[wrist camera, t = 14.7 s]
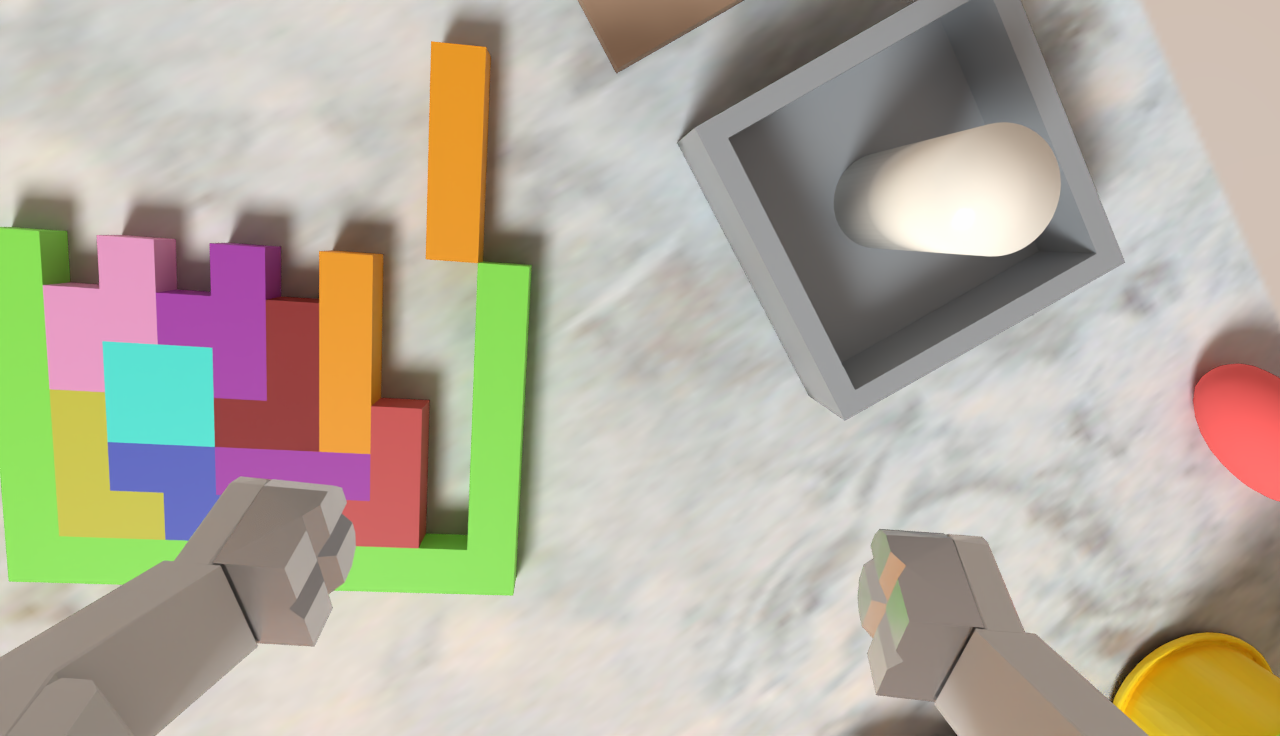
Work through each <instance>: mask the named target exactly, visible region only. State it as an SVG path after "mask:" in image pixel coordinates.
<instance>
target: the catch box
mask: <svg viewBox="0 0 1280 736" xmlns="http://www.w3.org/2000/svg"><path fill="white" fill-rule="evenodd" d="M1001 122H1008V123H1015V124H1019V125H1023V126H1025V127H1027V128H1030V129H1031V130H1033V131H1034V132H1036V133H1037V134H1039V135H1040V136H1041V137H1042V138H1043V139H1044V140H1045V141H1046V142H1047V143H1048V145H1049V146H1050V148H1051V149H1052V151H1053V153H1054V155H1055V157H1056V159H1057V163H1058V166H1059V170H1060V178H1061V189H1060V196H1059V201H1058V205H1057V208H1056V211H1055V213H1054V215H1053V217H1052V219H1051V221H1050V222H1049V224H1048V226H1047V227H1046V228H1045V230H1044V231H1043V232H1042V233H1041V234H1040V235H1039V236H1038V237H1037V238H1036V239H1035V240H1034V241H1033V242H1032V243H1030V244H1029V245H1027V246H1026V247H1024V248H1023V249H1021V250H1018V251H1016V252H1014V253H1011V254H1008V255H1003V256H976V255H962V254H947V253H933V252H918V251H904V250H890V249H875V248H867V247H863V246H861V245H858V244H856V243H855V242H853V241H852V240H850V239H849V238H848V237H847V236H846V235H845V234H844V233H843V231H842V230H841V228H840V227H839V225H838V223H837V220H836V217H835V213H834V194H835V190H836V186H837V184H838V181H839V180H840V178H841V176H842V175H843V173H844V172H845V170H846V169H847V168H848V167H849V166H850V165H851V164H853V163H854V162H855V161H857V160H858V159H860V158H862V157H864V156H867V155H870V154H873V153H877V152H881V151H885V150H889V149H893V148H897V147H901V146H905V145H909V144H913V143H917V142H921V141H924V140H928V139H932V138H936V137H940V136H944V135H948V134H952V133H956V132H960V131H964V130H968V129H972V128H976V127H980V126H984V125H988V124H993V123H1001ZM677 143H678V145H679V147H680V149H681V151H682V153H683V155H684V157H685V159H686V161H687V163H688V164H689V166H690V168H691V170H692V172H693V174H694V176H695V178H696V180H697V182H698V184H699V186H700V187H701V189H702V191H703V193H704V195H705V197H706V199H707V201H708V203H709V205H710V207H711V209H712V211H713V212H714V214H715V216H716V218H717V220H718V222H719V224H720V226H721V228H722V230H723V232H724V234H725V236H726V237H727V239H728V241H729V243H730V245H731V247H732V249H733V251H734V253H735V255H736V257H737V259H738V261H739V262H740V264H741V266H742V268H743V270H744V272H745V274H746V276H747V278H748V280H749V282H750V284H751V286H752V287H753V289H754V291H755V293H756V295H757V297H758V299H759V301H760V303H761V305H762V307H763V309H764V311H765V312H766V314H767V316H768V318H769V320H770V322H771V324H772V326H773V328H774V330H775V332H776V334H777V336H778V337H779V339H780V341H781V343H782V345H783V347H784V349H785V351H786V353H787V355H788V357H789V359H790V361H791V362H792V364H793V366H794V368H795V370H796V372H797V374H798V376H799V378H800V380H801V382H802V384H803V386H804V387H805V389H806V391H807V393H808V395H809V396H810V397H811V398H813V399H814V400H816V401H817V402H819V403H820V404H822V405H823V406H824V407H826V408H827V409H829V410H830V411H832V412H833V413H835V414H836V415H837V416H839V417H840V418H842V419H843V420H847V419H849V418H851V417H852V416H854V415H856V414H858V413H859V412H861V411H863V410H865V409H867V408H868V407H870V406H872V405H874V404H875V403H877V402H879V401H881V400H882V399H884V398H886V397H888V396H890V395H891V394H893V393H895V392H897V391H898V390H900V389H902V388H904V387H905V386H907V385H909V384H911V383H913V382H914V381H916V380H918V379H920V378H921V377H923V376H925V375H927V374H929V373H930V372H932V371H934V370H936V369H937V368H939V367H941V366H943V365H944V364H946V363H948V362H950V361H952V360H953V359H955V358H957V357H959V356H960V355H962V354H964V353H966V352H967V351H969V350H971V349H973V348H975V347H976V346H978V345H980V344H982V343H983V342H985V341H987V340H989V339H991V338H992V337H994V336H996V335H998V334H999V333H1001V332H1003V331H1005V330H1006V329H1008V328H1010V327H1012V326H1014V325H1015V324H1017V323H1019V322H1021V321H1022V320H1024V319H1026V318H1028V317H1029V316H1031V315H1033V314H1035V313H1037V312H1038V311H1040V310H1042V309H1044V308H1045V307H1047V306H1049V305H1051V304H1053V303H1054V302H1056V301H1058V300H1060V299H1061V298H1063V297H1065V296H1067V295H1068V294H1070V293H1072V292H1074V291H1076V290H1077V289H1079V288H1081V287H1083V286H1084V285H1086V284H1088V283H1090V282H1091V281H1093V280H1095V279H1097V278H1099V277H1100V276H1102V275H1104V274H1106V273H1107V272H1109V271H1111V270H1113V269H1115V268H1116V267H1118V266H1120V265H1122V264H1123V263H1125V261H1124V258H1123V256H1122V253H1121V251H1120V248H1119V246H1118V243H1117V241H1116V238H1115V236H1114V233H1113V231H1112V228H1111V226H1110V223H1109V221H1108V218H1107V216H1106V213H1105V211H1104V208H1103V206H1102V203H1101V201H1100V198H1099V196H1098V193H1097V191H1096V188H1095V186H1094V183H1093V181H1092V178H1091V176H1090V173H1089V171H1088V168H1087V166H1086V163H1085V161H1084V158H1083V156H1082V153H1081V151H1080V148H1079V146H1078V143H1077V141H1076V138H1075V136H1074V133H1073V131H1072V128H1071V126H1070V123H1069V121H1068V118H1067V115H1066V113H1065V110H1064V108H1063V105H1062V103H1061V100H1060V98H1059V95H1058V93H1057V90H1056V88H1055V85H1054V83H1053V80H1052V78H1051V75H1050V73H1049V70H1048V68H1047V65H1046V63H1045V60H1044V58H1043V55H1042V53H1041V50H1040V48H1039V45H1038V43H1037V40H1036V38H1035V35H1034V33H1033V30H1032V28H1031V25H1030V23H1029V20H1028V18H1027V15H1026V13H1025V10H1024V8H1023V5H1022V3H1021V0H917V1H916V2H914V3H912V4H910V5H909V6H907V7H905V8H903V9H902V10H900V11H898V12H896V13H895V14H893V15H891V16H889V17H888V18H886V19H884V20H882V21H881V22H879V23H877V24H875V25H874V26H872V27H870V28H868V29H867V30H865V31H863V32H861V33H860V34H858V35H856V36H854V37H853V38H851V39H849V40H847V41H846V42H844V43H842V44H840V45H839V46H837V47H835V48H833V49H832V50H830V51H828V52H826V53H825V54H823V55H821V56H819V57H818V58H816V59H814V60H812V61H811V62H809V63H807V64H805V65H804V66H802V67H800V68H798V69H797V70H795V71H793V72H791V73H790V74H788V75H786V76H784V77H782V78H781V79H779V80H777V81H775V82H774V83H772V84H770V85H768V86H767V87H765V88H763V89H761V90H760V91H758V92H756V93H754V94H753V95H751V96H749V97H747V98H746V99H744V100H742V101H740V102H739V103H737V104H735V105H733V106H732V107H730V108H728V109H726V110H725V111H723V112H721V113H719V114H718V115H716V116H714V117H712V118H711V119H709V120H707V121H705V122H704V123H702V124H700V125H698V126H697V127H695V128H694V129H693V130H691V131H690V132H689V133H688V134H687V135H686V136H684V137H683V138H682V139H681V140H680V141H679V142H677Z"/></svg>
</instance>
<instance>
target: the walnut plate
mask: <svg viewBox="0 0 1280 736" xmlns="http://www.w3.org/2000/svg"><path fill="white" fill-rule="evenodd" d="M742 1H744V0H578V2H579V3H580V5H581V7H582V9H583V11H584V13H585V15H586V17H587V19H588V21H589V22H590V24H591V26H592V28H593V30H594V32H595V34H596V36H597V38H598V39H599V41H600V43H601V45H602V47H603V49H604V51H605V53H606V55H607V57H608V58H609V60H610V62H611V64H612V66H613V68H614V70H615V72H616V73H618V72H620V71H622V70H623V69H625V68H627V67H629V66H630V65H632V64H634V63H636V62H637V61H639V60H641V59H643V58H644V57H646V56H648V55H650V54H651V53H653V52H655V51H657V50H658V49H660V48H662V47H664V46H665V45H667V44H669V43H670V42H672V41H674V40H676V39H677V38H679V37H681V36H683V35H684V34H686V33H688V32H690V31H691V30H693V29H695V28H697V27H698V26H700V25H702V24H704V23H705V22H707V21H709V20H711V19H712V18H714V17H716V16H718V15H719V14H721V13H723V12H725V11H726V10H728V9H730V8H732V7H733V6H735V5H737V4H739V3H740V2H742Z"/></svg>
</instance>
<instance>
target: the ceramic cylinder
mask: <svg viewBox="0 0 1280 736" xmlns="http://www.w3.org/2000/svg"><path fill="white" fill-rule="evenodd" d="M1060 189H1061V178H1060V170H1059V166H1058V163H1057V159H1056V157H1055V155H1054V153H1053V151H1052V149H1051V148H1050V146H1049V145H1048V143H1047V142H1046V141H1045V140H1044V139H1043V138H1042V137H1041V136H1040V135H1039V134H1037V133H1036V132H1034V131H1033V130H1031V129H1030V128H1027V127H1025V126H1023V125H1019V124H1015V123H1008V122H1001V123H993V124H988V125H984V126H980V127H976V128H972V129H968V130H964V131H960V132H956V133H952V134H948V135H944V136H940V137H936V138H932V139H928V140H924V141H921V142H917V143H913V144H909V145H905V146H901V147H897V148H893V149H889V150H885V151H881V152H877V153H873V154H870V155H867V156H864V157H862V158H860V159H858V160H857V161H855V162H854V163H853V164H851V165H850V166H849V167H848V168H847V169H846V170H845V172H844V173H843V175H842V176H841V178H840V180H839V181H838V184H837V186H836V190H835V194H834V213H835V217H836V220H837V223H838V225H839V227H840V228H841V230H842V231H843V233H844V234H845V235H846V236H847V237H848V238H849V239H850V240H852V241H853V242H855V243H856V244H858V245H861V246H863V247H867V248H875V249H890V250H904V251H918V252H933V253H947V254H962V255H976V256H1003V255H1008V254H1011V253H1014V252H1016V251H1018V250H1021V249H1023V248H1024V247H1026V246H1027V245H1029V244H1030V243H1032V242H1033V241H1034V240H1035V239H1036V238H1037V237H1038V236H1039V235H1040V234H1041V233H1042V232H1043V231H1044V230H1045V228H1046V227H1047V226H1048V224H1049V222H1050V221H1051V219H1052V217H1053V215H1054V213H1055V211H1056V208H1057V205H1058V201H1059V196H1060Z"/></svg>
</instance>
